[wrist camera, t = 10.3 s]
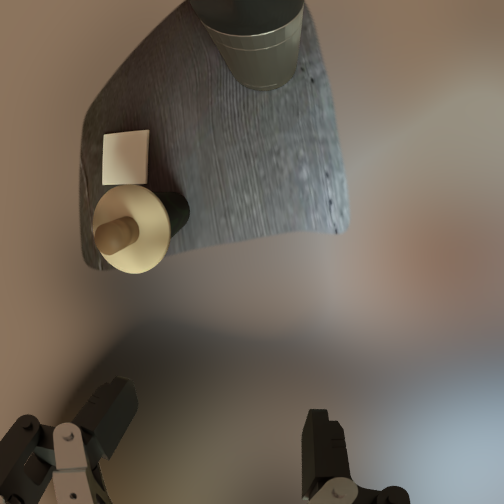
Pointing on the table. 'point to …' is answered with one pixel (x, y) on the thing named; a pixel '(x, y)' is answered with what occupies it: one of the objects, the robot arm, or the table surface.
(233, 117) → the table surface
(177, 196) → the cup
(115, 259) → the lid
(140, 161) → the plate
